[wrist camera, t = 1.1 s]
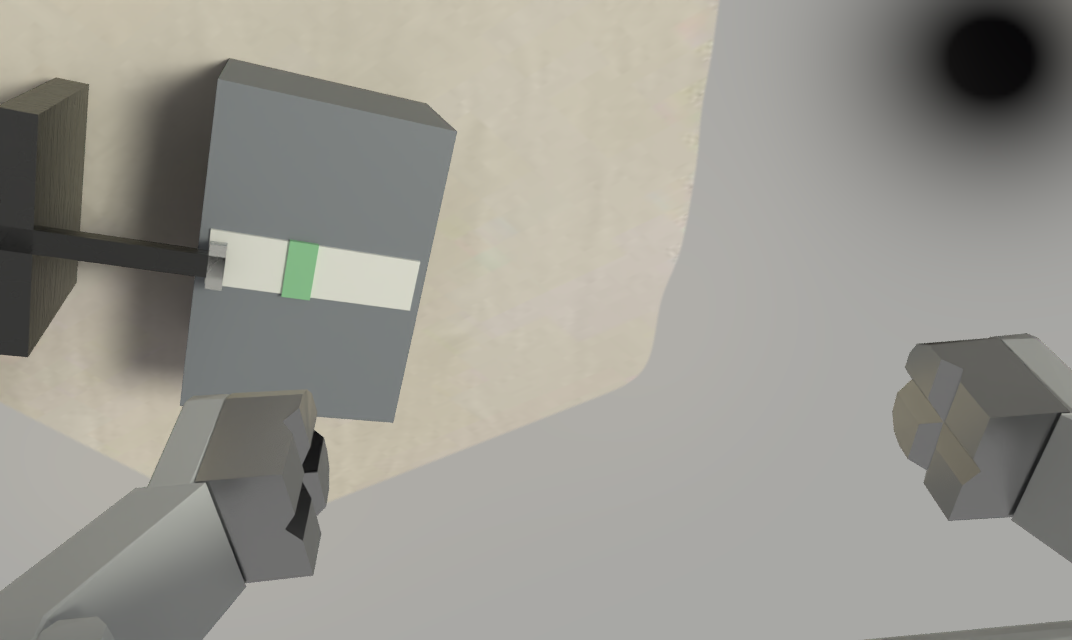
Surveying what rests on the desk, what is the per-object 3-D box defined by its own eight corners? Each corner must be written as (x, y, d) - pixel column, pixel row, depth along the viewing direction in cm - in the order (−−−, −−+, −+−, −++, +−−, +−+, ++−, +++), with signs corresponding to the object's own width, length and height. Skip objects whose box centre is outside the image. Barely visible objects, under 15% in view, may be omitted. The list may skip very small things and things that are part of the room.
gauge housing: (196, 332, 52) (179, 409, 43) (229, 58, 46) (217, 79, 37) (375, 352, 57) (394, 425, 48) (426, 103, 51) (458, 132, 42)
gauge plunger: (46, 278, 47) (-10, 353, 38) (56, 77, 43) (-4, 106, 34) (223, 301, 51) (210, 374, 42) (247, 117, 47) (239, 153, 38)
